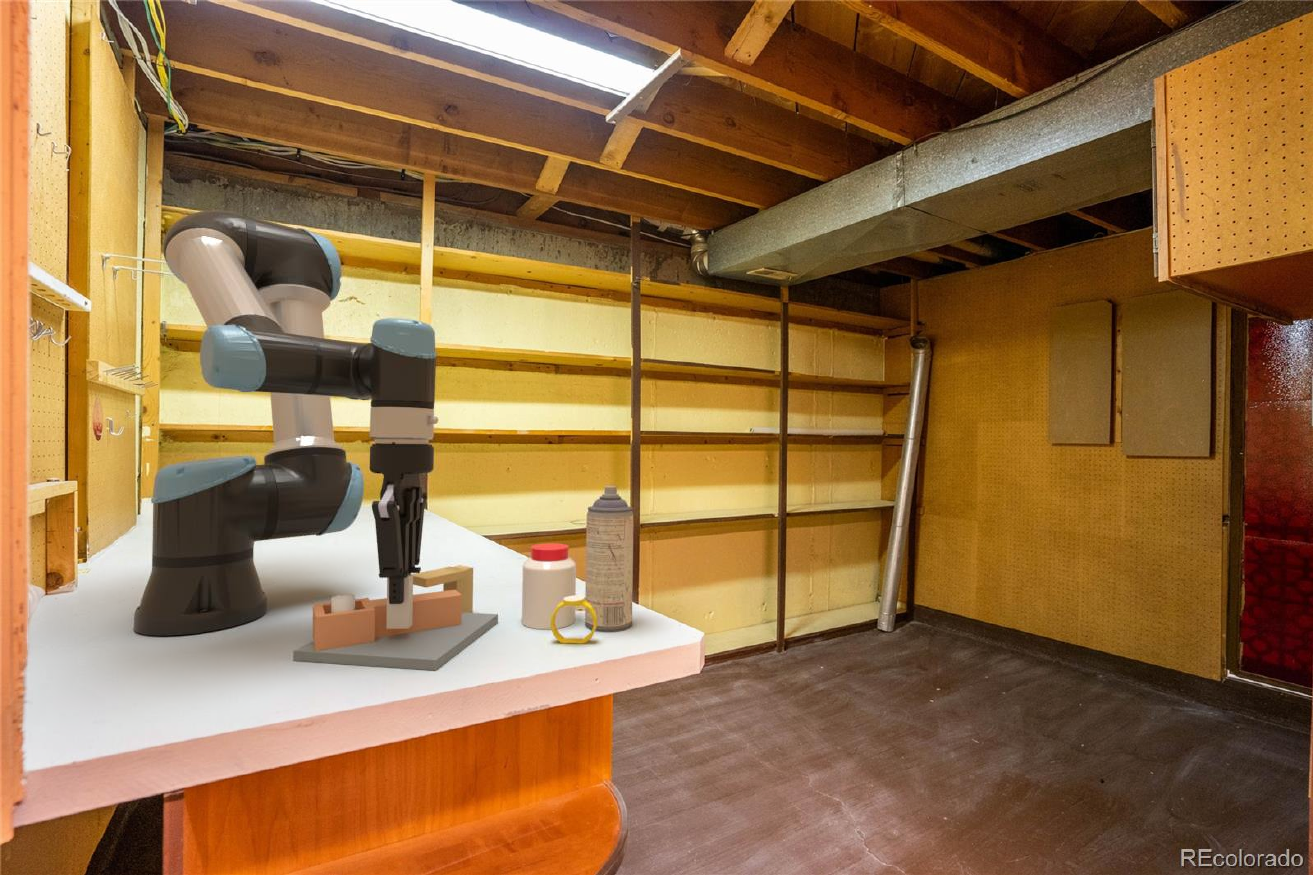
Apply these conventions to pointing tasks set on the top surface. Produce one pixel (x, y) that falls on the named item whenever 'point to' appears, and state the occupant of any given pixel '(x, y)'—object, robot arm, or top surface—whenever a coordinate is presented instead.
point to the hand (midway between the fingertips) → (399, 626)
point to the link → (382, 619)
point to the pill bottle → (548, 586)
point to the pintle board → (416, 646)
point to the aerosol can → (609, 562)
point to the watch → (573, 602)
